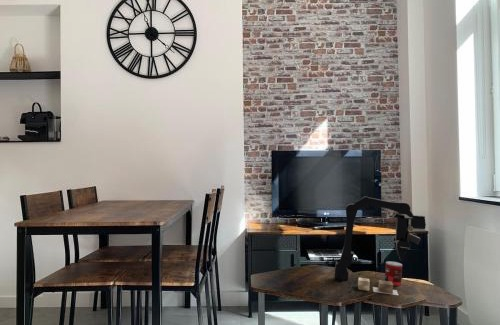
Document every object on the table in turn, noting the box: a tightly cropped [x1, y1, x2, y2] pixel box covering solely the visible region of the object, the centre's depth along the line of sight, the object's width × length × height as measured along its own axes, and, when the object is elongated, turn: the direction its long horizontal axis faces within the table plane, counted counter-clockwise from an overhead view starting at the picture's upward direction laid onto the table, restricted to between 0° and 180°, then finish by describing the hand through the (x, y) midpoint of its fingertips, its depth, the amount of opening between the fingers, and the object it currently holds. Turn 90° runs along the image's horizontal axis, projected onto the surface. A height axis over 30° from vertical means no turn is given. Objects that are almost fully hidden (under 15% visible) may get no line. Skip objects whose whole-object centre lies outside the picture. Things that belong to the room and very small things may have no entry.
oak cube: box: [357, 277, 371, 292], centre depth 182 cm, size 5×5×5 cm
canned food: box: [384, 260, 403, 287], centre depth 195 cm, size 8×8×11 cm
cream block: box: [377, 280, 394, 295], centre depth 180 cm, size 6×6×4 cm
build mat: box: [372, 286, 399, 296], centre depth 180 cm, size 11×8×1 cm
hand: (400, 258), depth 189 cm, fingers open, 9 cm apart
